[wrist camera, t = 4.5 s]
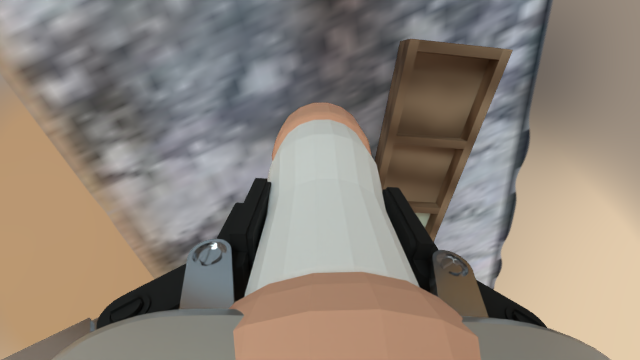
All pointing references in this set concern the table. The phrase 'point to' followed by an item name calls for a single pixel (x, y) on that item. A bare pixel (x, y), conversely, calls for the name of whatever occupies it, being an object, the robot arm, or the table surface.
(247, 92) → the table surface
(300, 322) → the pepper shaker
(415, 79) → the notch ledge
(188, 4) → the table surface
